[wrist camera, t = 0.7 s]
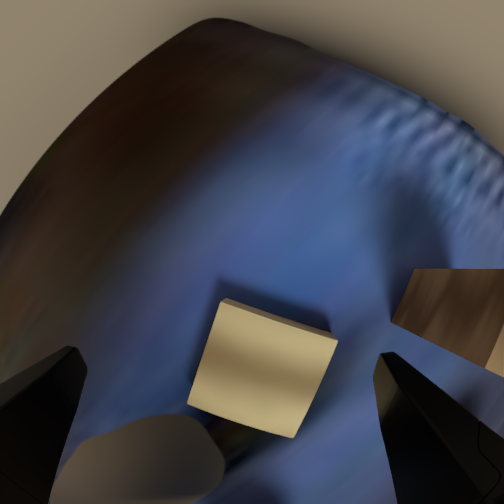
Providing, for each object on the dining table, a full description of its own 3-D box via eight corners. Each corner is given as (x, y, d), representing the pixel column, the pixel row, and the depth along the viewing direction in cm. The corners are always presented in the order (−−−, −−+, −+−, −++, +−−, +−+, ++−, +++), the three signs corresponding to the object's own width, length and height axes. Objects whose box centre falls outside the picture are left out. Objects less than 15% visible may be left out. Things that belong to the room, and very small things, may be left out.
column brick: (431, 342, 22) (526, 388, 9) (390, 322, 22) (484, 368, 9) (453, 291, 22) (558, 304, 9) (414, 268, 22) (520, 268, 9)
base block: (291, 421, 23) (293, 438, 20) (196, 389, 24) (186, 403, 21) (330, 331, 23) (338, 340, 20) (227, 297, 24) (220, 301, 21)
